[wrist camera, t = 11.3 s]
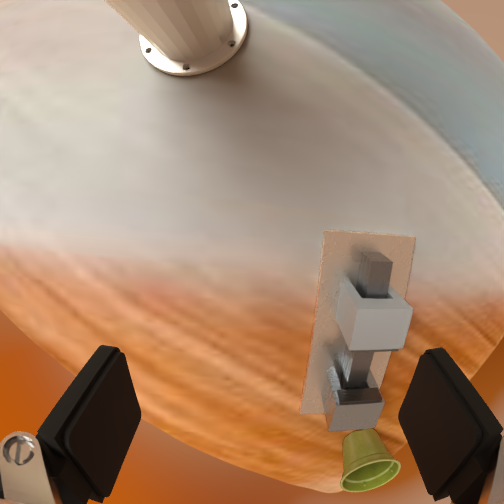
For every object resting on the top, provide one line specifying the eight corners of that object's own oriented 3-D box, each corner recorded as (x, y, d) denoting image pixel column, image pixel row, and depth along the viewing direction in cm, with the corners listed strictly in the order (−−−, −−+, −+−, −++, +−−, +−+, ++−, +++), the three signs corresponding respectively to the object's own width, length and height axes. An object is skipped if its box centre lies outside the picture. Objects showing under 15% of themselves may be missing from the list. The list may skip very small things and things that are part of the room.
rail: (323, 229, 33) (340, 246, 25) (411, 235, 32) (445, 253, 25) (299, 409, 39) (303, 450, 32) (370, 406, 39) (383, 443, 31)
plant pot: (397, 427, 40) (412, 463, 32) (361, 459, 43) (370, 494, 34) (358, 414, 39) (371, 455, 31) (321, 448, 42) (327, 488, 33)
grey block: (341, 282, 33) (357, 309, 26) (388, 284, 33) (413, 308, 26) (335, 321, 34) (348, 353, 28) (381, 321, 34) (401, 351, 27)
